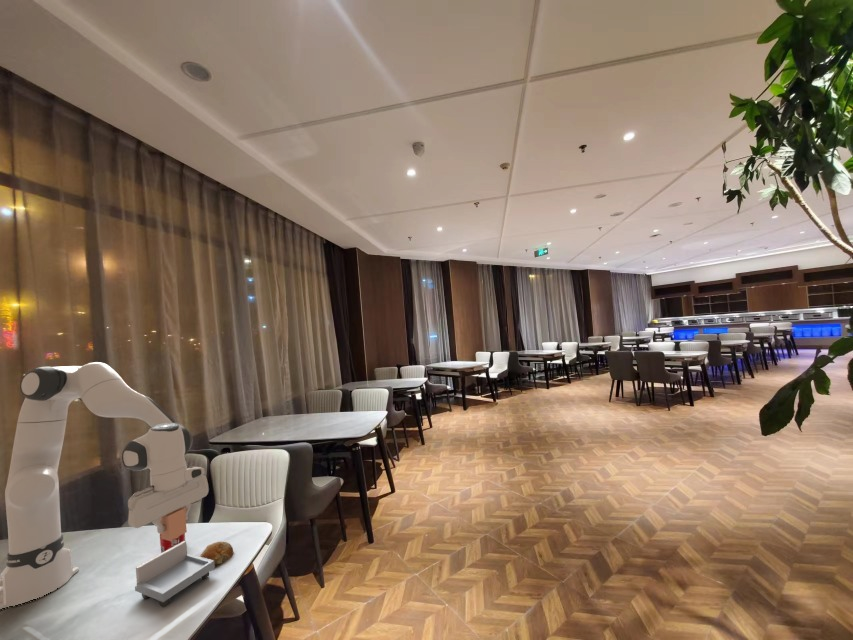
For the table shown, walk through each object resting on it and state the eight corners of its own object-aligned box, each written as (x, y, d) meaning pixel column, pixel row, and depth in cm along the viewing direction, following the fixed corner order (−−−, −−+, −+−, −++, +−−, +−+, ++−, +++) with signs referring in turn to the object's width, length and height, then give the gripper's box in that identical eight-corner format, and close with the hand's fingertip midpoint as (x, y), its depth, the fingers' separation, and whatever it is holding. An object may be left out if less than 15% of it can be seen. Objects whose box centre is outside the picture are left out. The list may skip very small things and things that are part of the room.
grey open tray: (135, 599, 98) (133, 568, 99) (187, 567, 111) (185, 540, 111) (163, 611, 92) (161, 578, 93) (215, 576, 105) (213, 547, 105)
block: (161, 538, 101) (159, 514, 102) (177, 529, 105) (175, 506, 106) (170, 541, 99) (168, 516, 100) (186, 532, 104) (184, 508, 104)
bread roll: (236, 564, 118) (237, 537, 122) (227, 568, 109) (228, 538, 113) (203, 572, 115) (205, 544, 119) (191, 577, 107) (194, 546, 110)
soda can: (190, 546, 126) (188, 512, 126) (174, 559, 119) (172, 523, 119) (172, 547, 126) (170, 513, 127) (156, 559, 119) (153, 524, 120)
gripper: (133, 496, 92) (137, 549, 92) (209, 466, 111) (213, 510, 110) (121, 494, 95) (125, 545, 94) (197, 465, 114) (201, 507, 113)
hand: (173, 526), depth 103 cm, fingers closed on block, 4 cm apart
